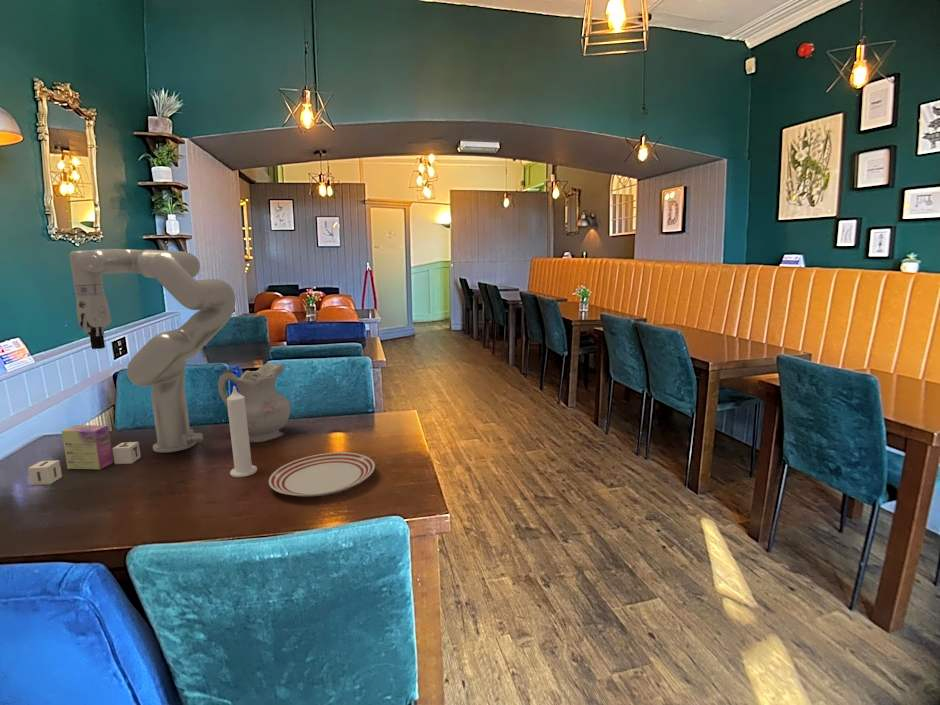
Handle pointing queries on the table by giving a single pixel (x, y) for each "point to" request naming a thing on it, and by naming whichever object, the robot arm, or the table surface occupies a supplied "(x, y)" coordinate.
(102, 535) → the table surface
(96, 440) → the box
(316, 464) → the dinner plate
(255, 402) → the ceramic pitcher
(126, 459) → the block seven
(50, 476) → the block one
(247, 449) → the candle
